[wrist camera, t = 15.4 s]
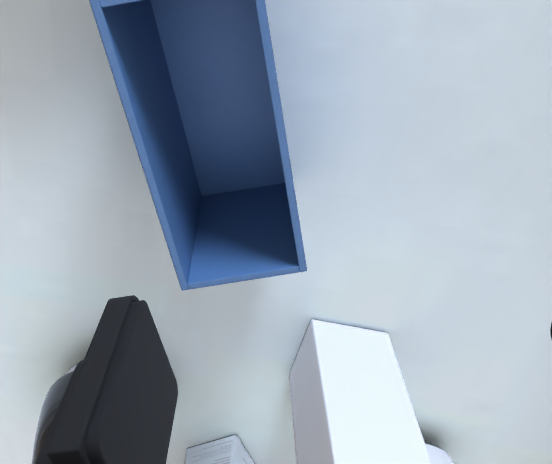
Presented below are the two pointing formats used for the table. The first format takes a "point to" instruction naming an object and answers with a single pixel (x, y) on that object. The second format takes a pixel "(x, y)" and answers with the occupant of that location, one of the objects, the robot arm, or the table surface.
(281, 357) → the table surface
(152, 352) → the robot arm
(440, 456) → the spread jar
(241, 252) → the blue bin
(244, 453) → the cosmetic box
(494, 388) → the table surface
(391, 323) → the table surface
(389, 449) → the milk carton
